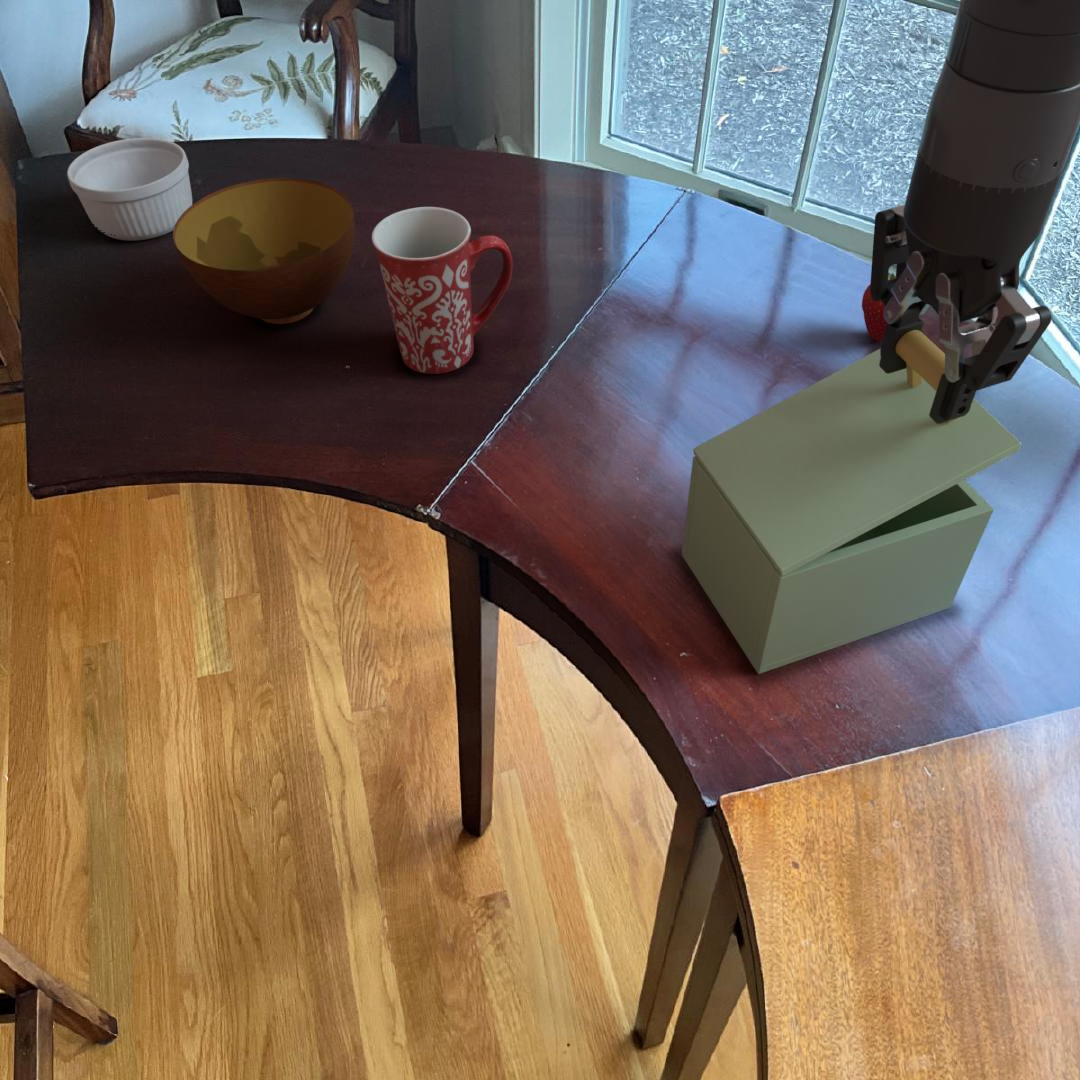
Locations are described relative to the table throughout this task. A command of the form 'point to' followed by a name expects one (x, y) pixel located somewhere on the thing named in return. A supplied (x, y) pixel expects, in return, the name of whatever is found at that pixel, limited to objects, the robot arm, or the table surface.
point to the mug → (435, 285)
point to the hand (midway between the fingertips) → (919, 391)
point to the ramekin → (133, 187)
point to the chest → (830, 574)
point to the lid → (849, 454)
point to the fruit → (874, 314)
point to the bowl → (268, 246)
